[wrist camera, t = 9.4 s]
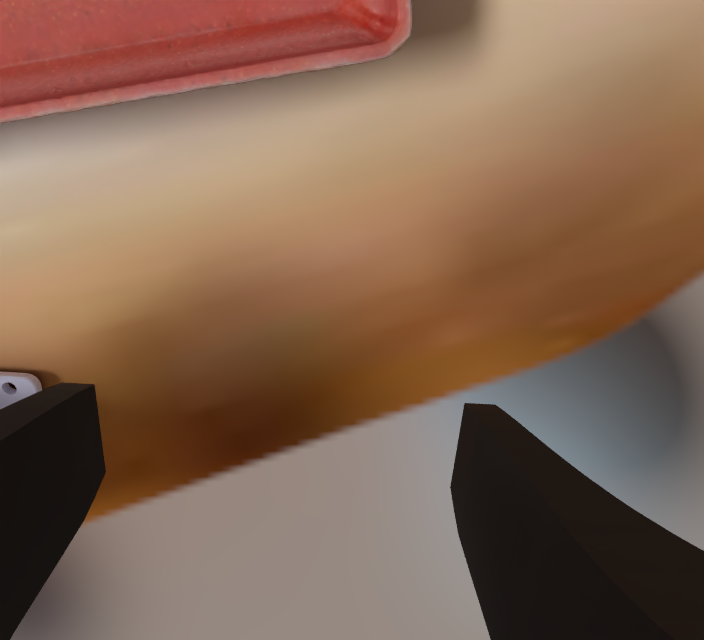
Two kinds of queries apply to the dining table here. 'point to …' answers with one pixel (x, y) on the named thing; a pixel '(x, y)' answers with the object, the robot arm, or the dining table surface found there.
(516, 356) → the dining table surface
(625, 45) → the dining table surface
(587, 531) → the robot arm
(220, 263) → the dining table surface
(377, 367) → the dining table surface
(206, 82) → the plant saucer
